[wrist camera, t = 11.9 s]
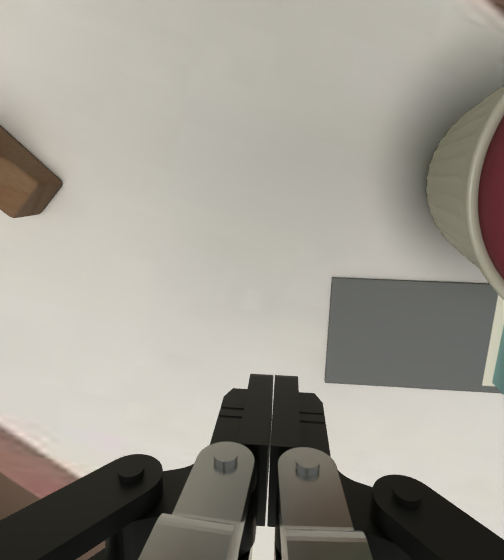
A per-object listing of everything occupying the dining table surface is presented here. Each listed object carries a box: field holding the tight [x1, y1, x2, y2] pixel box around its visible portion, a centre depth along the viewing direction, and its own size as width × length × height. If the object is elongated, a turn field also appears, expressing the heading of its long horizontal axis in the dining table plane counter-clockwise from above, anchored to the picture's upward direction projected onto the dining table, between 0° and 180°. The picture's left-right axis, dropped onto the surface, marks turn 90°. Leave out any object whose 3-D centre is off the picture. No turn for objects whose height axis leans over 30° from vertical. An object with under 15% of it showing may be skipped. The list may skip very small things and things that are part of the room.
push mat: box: [325, 277, 504, 393], centre depth 41 cm, size 12×28×1 cm, turn 89°
